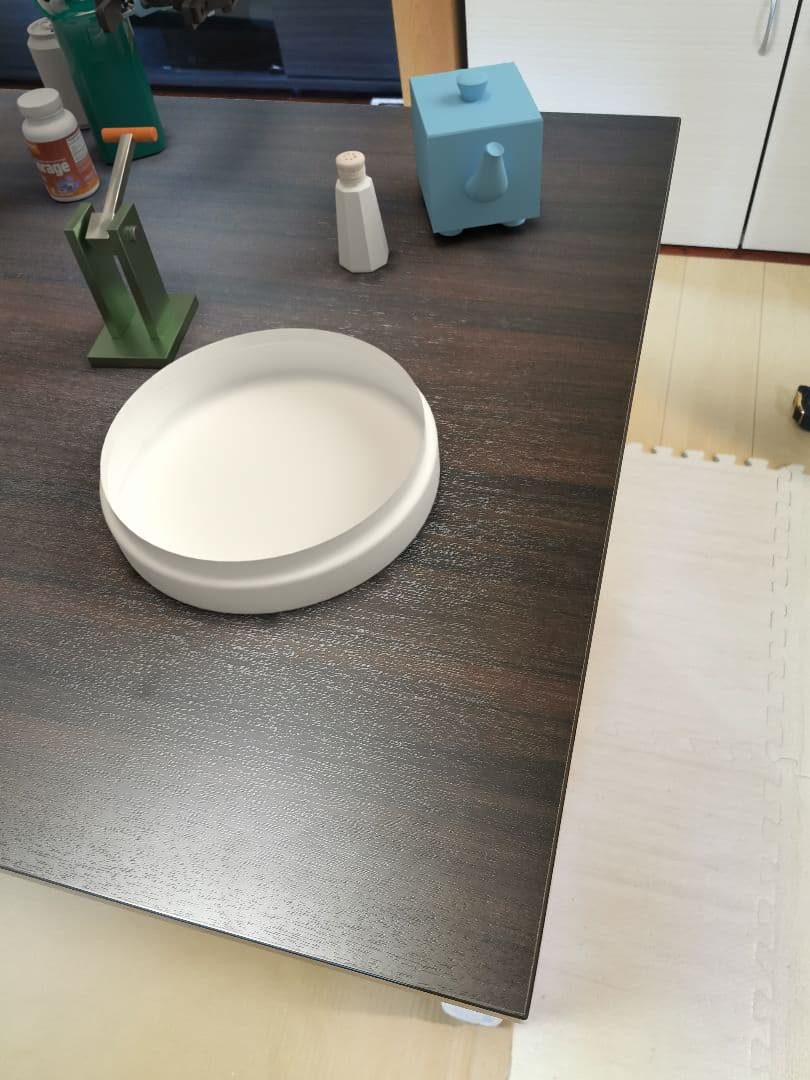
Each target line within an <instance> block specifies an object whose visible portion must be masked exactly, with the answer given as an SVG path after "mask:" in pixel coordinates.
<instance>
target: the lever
mask: <svg viewBox="0 0 810 1080" xmlns="http://www.w3.org/2000/svg"><path fill="white" fill-rule="evenodd" d="M102 138H103V141H104V142H106V143H110V142H119V145H118V150H117V154H116V158H115V162H114V164H113V167H112V171H111V175H110V179H109V184H108V188H107V192H106V195H105V200H104V204H103V208H102V211H101V212H96V211H95V213H91V218H90V222H89V226H88V230H87V234H86V240H87V242H88V243H89V244H90V246H91V247H92V248H93V250H94V251H95V252H96V254H97V255H98V256H113V257H115V256H116V257H117V255H116V252H115V250H114V248H113V245H112V243H111V240H110V238H109V235H108V233H107V230H106V229H107V228H108V226H109V224H110V223H111V221H112V219H113V218H114V216H115V215H116V213H117V211H118V210H119V208H120V207H121V205H122V203H123V202H124V196H125V193H126V189H127V184H128V180H129V175H130V171H131V167H132V163H133V160H132V159H133V154H134V150H135V146H136V142H149V141H157V131H156V129H155V127H133V128H103V129H102Z"/></svg>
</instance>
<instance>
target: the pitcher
mask: <svg viewBox="0 0 810 1080" xmlns="http://www.w3.org/2000/svg"><path fill="white" fill-rule="evenodd" d="M31 1H32V3H33V4H34V5H35V7H36V8H37V10H38V11H39V12H40V13H41V14H42V15H43V16H44V17H46V18H48V19H49V21H50V23H51V26H52V29H53V31H54V34H55V37H56V39H57V42H58V45H59V47H60V50H61V52H62V55H63V58H64V60H65V63H66V66H67V68H68V71H69V73H70V76H71V79H72V81H73V84H74V87H75V89H76V92H77V95H78V97H79V100H80V102H81V105H82V108H83V110H84V113H85V116H86V118H87V121H88V124H89V126H90V128H89V129H90V131H91V134H92V137H93V140H94V142H95V145H96V147H97V150H98V152H99V155H100V157H101V160H102V161H103V162H105V163H107V164H110V165H114V162H115V158H116V154H117V150H118V145H119V142H110V143H106V142H104V141H103V138H102V129H103V128H133V127H155V129H156V131H157V141H149V142H136V146H135V150H134V154H133V159H132V161H134V160H137V159H141V158H145V157H148V156H152V155H155V154H158V153H160V152H162V151H163V150H164V149H166V147H167V144H168V140H167V136H166V132H165V130H164V126H163V123H162V121H161V116H160V114H159V110H158V107H157V105H156V100H155V98H154V95H153V94H154V93H153V91H152V88H151V84H150V82H149V79H148V75H147V72H146V69H145V66H144V62H143V59H142V56H141V52H140V50H139V47H138V43H137V40H136V37H135V34H134V31H133V30H134V29H133V27H132V24H131V21H130V18H129V17H130V16H129V17H127V18H124V20H123V21H122V22H121V23H120V24H119V26H118V27H117V28H116V29H115V30H114V32H113V33H104V32H103V30H102V28H100V26H99V23H98V20H97V17H96V14H95V9H96V8H95V5H94V2H93V0H50V1H45V0H31ZM121 6H122V8H125V6H124V3H123V4H122V5H121Z"/></svg>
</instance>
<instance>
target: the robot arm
mask: <svg viewBox="0 0 810 1080" xmlns="http://www.w3.org/2000/svg"><path fill="white" fill-rule="evenodd" d="M93 2H94V5H95V8H96V9H95V14H96V17H97V20H98V23H99V26H100V28H102V30H103V32H104V33H113V32H114V30H115V29H116V28H117V27H118V26H119V24H120V23H121V22H122V21H123V20H124V18H127V17H131V16H136V17H139V18H144V17H146V16H149V15H152V14H153V13H156V12H158V11H163V12H165V11H167V10H174V11H176V12H178V13H181V14H182V16H183V21H184V25H185V28H186V30H187V31H195V30H196V29H197V28H198V26H199V25H201V24H202V23H203V22H204V21H205V20H206V18H208V17H212V16H214V15H215V13H216V12H215V10H219V9H220V12H221V13H222V14H230V13H232V12H234V10H235V8H236V7H237V4H238V3H239V0H144V2H145V3H146V4H143V5H142V2H141V0H93ZM124 3H127V6H124V8H122V6H121V5H122V4H123V5H124Z"/></svg>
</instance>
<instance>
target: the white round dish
mask: <svg viewBox="0 0 810 1080" xmlns="http://www.w3.org/2000/svg"><path fill="white" fill-rule="evenodd" d="M438 437H439V436H438V429H437V424H436V420H435V417H434V415H433V412H432V409H431V406H430V405H429V402H428V401H427V400H426V397H425V395H424V394H423V393H422V392H421V389H419V387H418V386H417V385H416V383H415V382H414V380H413V379H412V377H411V376H410V374H409V373H408V372H407V370H406V369H404V367H403V366H401V364H400V363H399V362H398V361H397V360H395V358H393V357H392V356H390V355H389V354H387V353H386V352H384V351H383V350H382V349H380V348H379V347H376V346H374V345H373V344H370V343H369V342H367V341H364V340H362V339H359V338H357V337H355V336H354V337H353V336H351V335H346V334H343V333H340V332H335V331H330V330H323V329H322V330H321V329H316V328H301V327H295V328H294V327H293V328H291V327H290V328H289V327H287V328H285V327H284V328H272V329H263V330H258V331H251V332H246V333H242V334H241V333H240V334H238V335H237V334H236V335H233V336H230V337H227V338H224V339H220V340H217V341H214V342H212V343H209V344H206V345H204V346H202V347H199V348H197V349H195V350H193V351H191V352H188V353H187V354H184V355H183V356H181V357H179V358H177V359H176V360H173V362H172V363H171V364H169V365H167V366H166V367H164V368H161V369H160V370H159V371H157V372H156V373H155V374H153V375H152V376H151V377H149V378H148V379H147V380H146V381H145V382H143V384H142V385H140V386H139V387H138V388H137V389H136V390H135V391H134V392H133V393H132V394H131V396H130V397H128V399H127V400H126V401H125V402H124V404H123V405H122V407H121V408H120V409H119V411H118V412H117V414H116V416H115V417H114V419H113V421H112V423H111V424H110V426H109V429H108V431H107V433H106V436H105V438H104V443H103V446H102V449H101V453H100V460H99V461H100V463H99V464H100V466H99V467H100V472H99V473H100V477H99V499H100V505H101V506H100V507H101V510H102V514H103V516H104V519H105V522H106V525H107V527H108V529H109V530H110V533H111V534H112V536H113V538H114V540H115V541H116V543H117V545H118V547H119V548H120V550H121V552H122V554H123V555H124V557H125V558H126V560H127V561H128V563H129V564H130V566H131V567H132V568H133V569H134V570H135V571H136V572H137V574H139V575H140V577H141V578H143V580H144V581H146V582H147V583H149V584H150V585H151V586H152V587H154V588H155V589H156V590H157V591H160V592H161V593H163V594H165V595H166V596H168V597H170V598H172V599H174V600H177V601H179V602H181V603H183V604H186V605H189V606H192V607H196V608H198V609H203V610H207V611H211V612H215V613H216V612H217V613H225V614H226V613H227V614H232V615H233V614H234V615H237V614H238V615H259V614H260V615H261V614H274V613H280V612H287V611H293V610H297V609H300V608H305V607H309V606H312V605H315V604H318V603H322V602H325V601H327V600H330V599H332V598H334V597H337V596H339V595H341V594H344V593H346V592H348V591H350V590H352V589H354V588H355V587H358V586H360V585H361V584H364V583H365V582H366V581H368V580H369V579H371V578H372V577H374V576H375V575H377V574H378V573H380V572H381V571H382V570H383V569H385V568H386V567H387V566H388V565H390V564H391V563H392V562H393V561H395V560H396V558H398V557H399V556H400V555H401V554H402V553H403V552H404V551H405V550H406V549H407V548H408V546H409V545H410V544H411V543H412V541H413V540H414V539H415V538H416V536H417V535H418V534H419V532H420V531H421V529H422V527H423V526H424V525H425V523H426V522H427V519H428V518H429V515H430V513H431V511H432V508H433V505H434V503H435V500H436V498H437V494H438V488H439V485H440V474H441V463H440V462H441V461H440V449H439V438H438Z"/></svg>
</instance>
